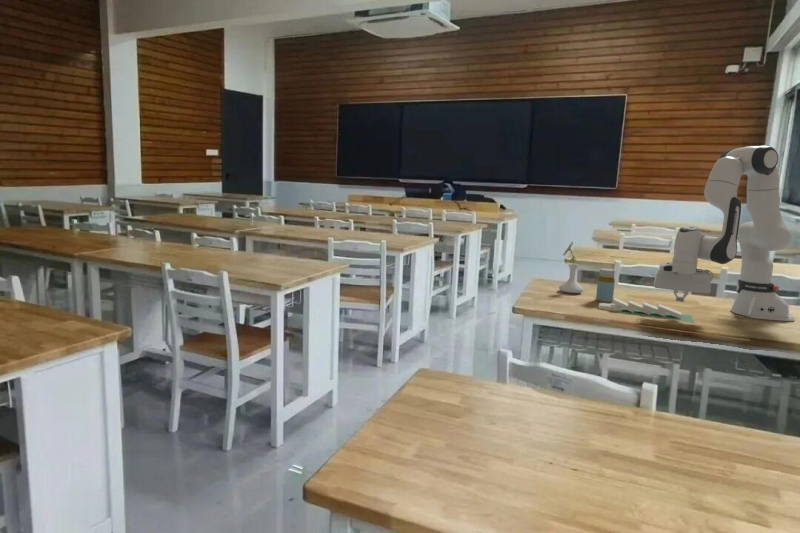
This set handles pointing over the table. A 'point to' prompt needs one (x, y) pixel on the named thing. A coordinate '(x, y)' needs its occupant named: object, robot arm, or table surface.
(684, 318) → the felt runner
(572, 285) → the flower in vase
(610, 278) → the bottle
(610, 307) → the domino end
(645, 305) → the domino
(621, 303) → the domino
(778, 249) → the robot arm
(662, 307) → the domino
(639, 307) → the domino
